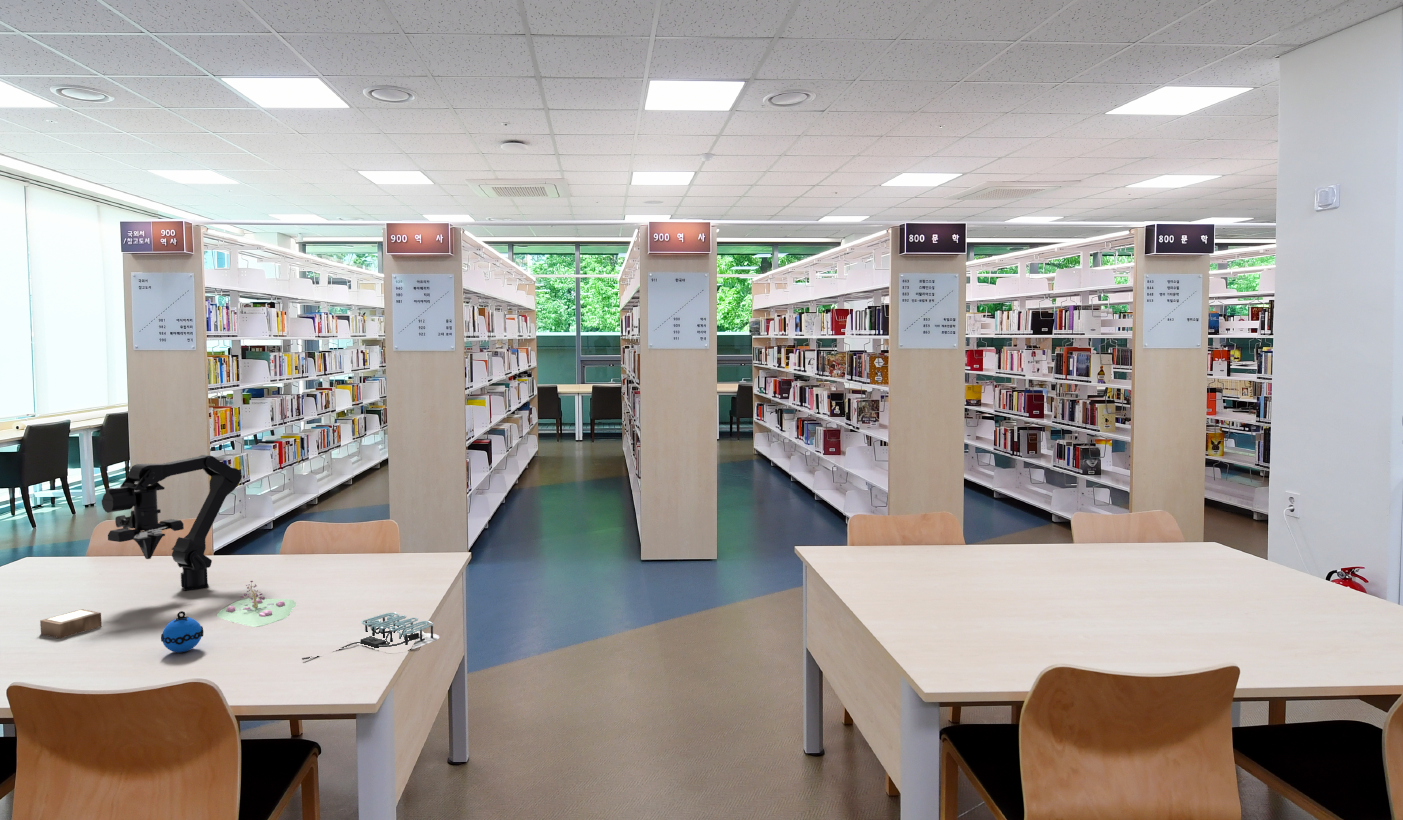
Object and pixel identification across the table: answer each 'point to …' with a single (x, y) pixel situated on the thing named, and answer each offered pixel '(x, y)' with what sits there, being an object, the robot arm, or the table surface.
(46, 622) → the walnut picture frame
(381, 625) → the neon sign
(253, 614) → the plant
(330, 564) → the table surface
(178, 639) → the ornament
